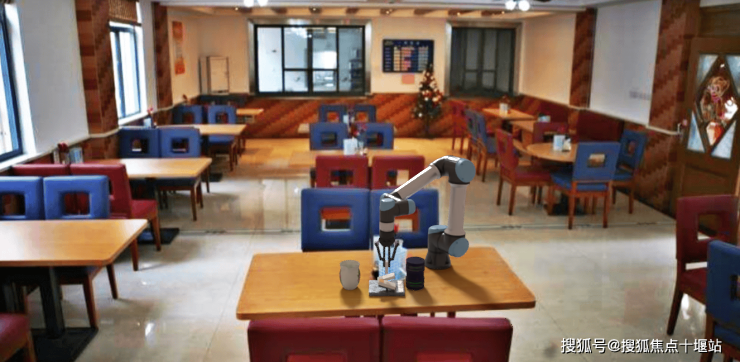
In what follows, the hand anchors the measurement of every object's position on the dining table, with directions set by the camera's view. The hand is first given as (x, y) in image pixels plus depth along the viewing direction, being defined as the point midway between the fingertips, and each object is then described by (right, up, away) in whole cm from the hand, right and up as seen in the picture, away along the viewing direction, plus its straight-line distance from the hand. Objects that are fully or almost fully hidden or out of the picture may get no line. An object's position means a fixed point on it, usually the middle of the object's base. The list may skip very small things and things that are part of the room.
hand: (386, 272), depth 293 cm
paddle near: (0, -5, -3) cm, 6 cm away
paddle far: (0, -3, +5) cm, 6 cm away
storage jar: (+15, -8, +6) cm, 18 cm away
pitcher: (-19, -8, +6) cm, 22 cm away
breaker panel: (0, -9, +2) cm, 9 cm away
